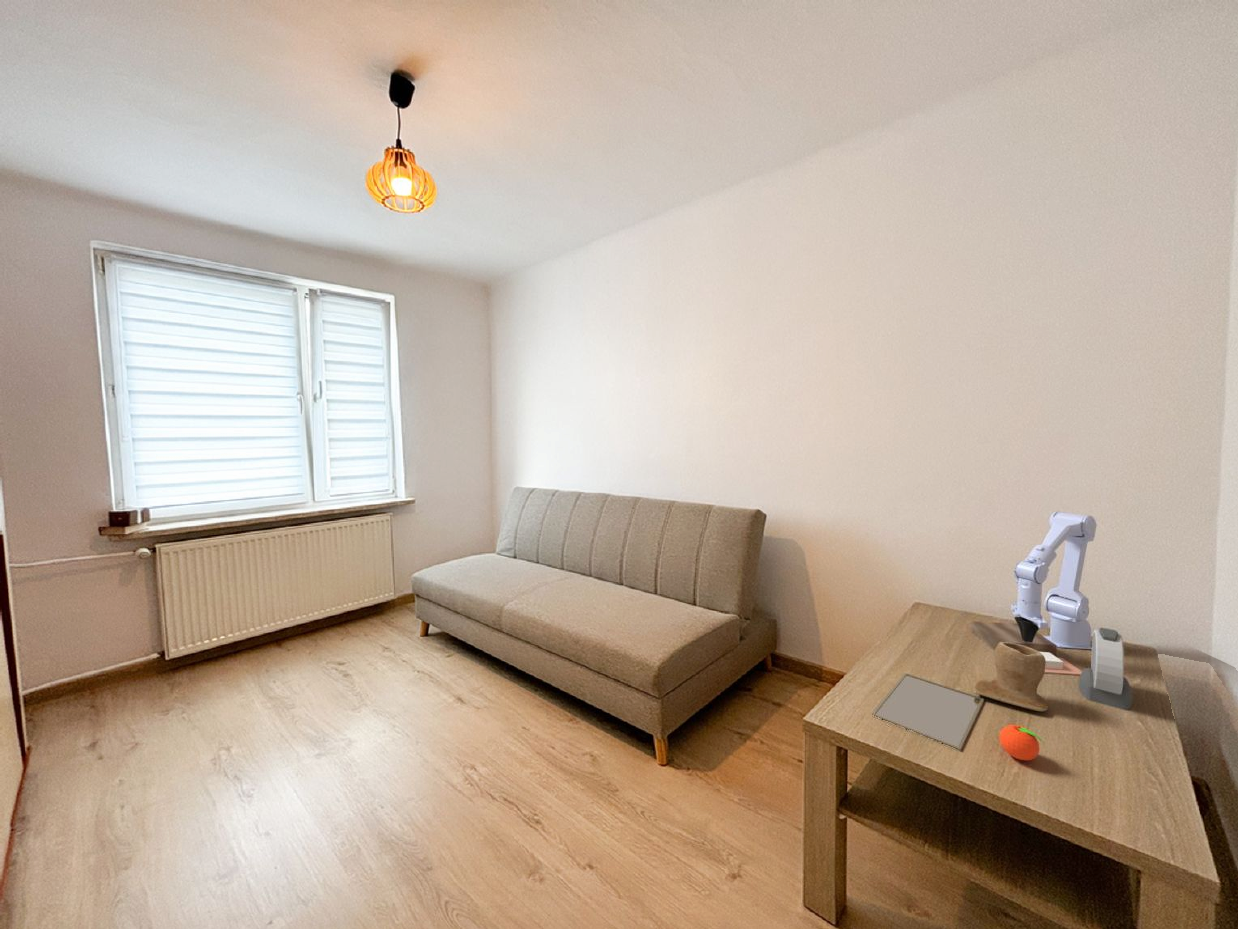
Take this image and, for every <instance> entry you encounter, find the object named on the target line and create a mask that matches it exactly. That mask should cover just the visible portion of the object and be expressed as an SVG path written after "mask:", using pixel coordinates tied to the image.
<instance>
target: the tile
mask: <svg viewBox="0 0 1238 929" xmlns="http://www.w3.org/2000/svg"><path fill="white" fill-rule="evenodd" d="M1040 653H1041V654H1042V655H1043V656H1044V657H1045V661H1046V665H1045V668H1046V669H1061V670H1063V661H1061V660H1060V659H1058V658H1059V657H1057V656H1056V657H1055V656H1054V655H1053V654H1051V653H1050V652H1040Z"/></svg>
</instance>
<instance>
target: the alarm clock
mask: <svg viewBox="0 0 1238 929" xmlns="http://www.w3.org/2000/svg"><path fill="white" fill-rule="evenodd" d="M1091 647H1092V649H1091V653H1090V654H1091V656H1090V657H1091V658H1090V659H1091V660H1090V662H1091V663H1090V664H1091V665H1090V666H1091V667H1090V668H1089V667H1088V668H1087V667H1086V668H1083V669H1082V670H1081V671H1082V673H1081V675H1079V676H1080V677H1079V681H1078V690H1079V692H1080V694H1081V695H1082V696H1083V697H1084V698H1085V699H1086V700H1087V701H1090V702H1093V703H1097V704H1101V705H1105V706H1109V707H1113V708H1116V709H1120V710H1124V711H1128V710H1130V709H1131V708H1132V706H1133V699H1134V694H1133V690H1132V687H1131V685H1130V683H1129V680H1128V679H1127V678H1126V677H1125V675H1124V674H1125V673H1124V672H1125V669H1124V668H1125V650H1124V640H1123V636H1122V635H1121V634H1120V633H1119V632H1118V631H1117V630H1115V629H1110V628H1105V627H1100V628H1099V629H1094V630H1093V633H1092V638H1091Z"/></svg>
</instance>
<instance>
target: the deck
mask: <svg viewBox="0 0 1238 929" xmlns="http://www.w3.org/2000/svg"><path fill="white" fill-rule="evenodd" d="M971 625H972V627H971V633H973V634H974V635H975V636H976V637H977V638H979V639H980V640H981V641H982V642H983V643H984V644H986V646H988V647H989V648H991V649H992V650H993V651H994V652H995V649H996V647H997V645H998V643H1000V642H1009V643H1015V644H1019V645H1023V646H1026V647H1029V648H1032V649H1034V650H1037V651H1038V652H1050V653H1051V654H1053V655H1054V656H1055V657H1057V645H1056V644H1054V643H1052V642H1051V641H1049V640H1048V639H1046V638H1045V637H1043V636H1044V635H1042V634H1040V633H1039V632H1037V633H1036V635H1035V637H1034V639H1033V642H1025V641H1023V640H1022V636H1021V632H1020V629H1019V626H1018V624H1017V623H1013V622H1012V623H1011V622H1009V623H1007V622H995V621H993V622H992V621H991V622H989V621H972V624H971Z"/></svg>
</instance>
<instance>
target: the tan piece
mask: <svg viewBox="0 0 1238 929" xmlns="http://www.w3.org/2000/svg"><path fill="white" fill-rule="evenodd" d="M993 654H994V655H993V656H994V663H995V669H996V677H995V678H994V679H993V680H992V679H987V678H986V679H984V678H983V679H979V680H977V681H976V683H975V685H974V688H973V690H974V691H973V692H974V694H977V695H979V696H983V697H986V698H988V699H989V698H990V699H992V700H995V701H999V702H1002V703H1005V704H1008V705H1009V704H1010V705H1013V706H1017V707H1021V708H1024V709H1027V710H1031V711H1035V712H1036V711H1037V712H1046V711H1047V710H1048V708H1049V704H1048V702H1047V700H1046V699H1045V698H1044V697H1043V696H1041V695H1039V694H1038V691H1037V690H1038V686H1039V684H1040V683H1041V681H1042V680H1043V677H1044V675H1045V674H1046V673H1045V665H1046V661H1045V657H1044V656H1043V655H1042V654H1041V653H1040V652H1038V651H1037V650H1034V649H1032V648H1029V647H1026V646H1023V645H1019V644H1015V643H1009V642H1000V643H998V645H997V647H996V649H995V651H994V653H993Z"/></svg>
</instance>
